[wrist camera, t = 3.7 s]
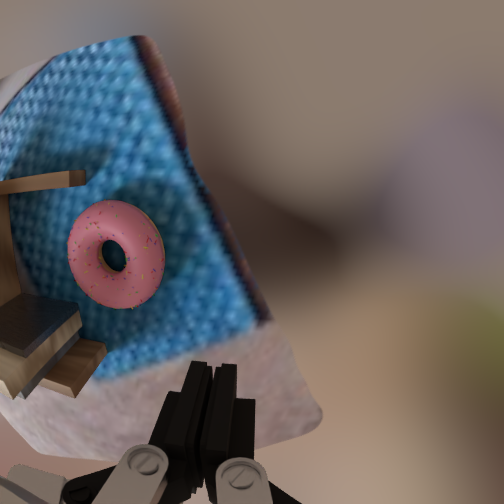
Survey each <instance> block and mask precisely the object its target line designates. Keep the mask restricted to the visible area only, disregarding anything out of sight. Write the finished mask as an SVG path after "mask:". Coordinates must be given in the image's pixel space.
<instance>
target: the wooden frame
mask: <svg viewBox="0 0 504 504" xmlns="http://www.w3.org/2000/svg"><path fill="white" fill-rule="evenodd" d="M82 185H85V170H71V171H62V172H54V173H47V174H40V175H33V176H27V177H21V178H16V179H10V180H5V181H0V306H2V305H3V304H5V303H6V302H8V301H10V300H11V299H13V298H14V297H16V296H17V295H19V294H20V293H21V288H20V284H19V279H18V274H17V269H16V263H15V257H14V251H13V244H12V236H11V226H10V215H9V198H8V194H10V193H18V192H26V191H35V190H44V189H55V188H66V187H74V186H82ZM81 327H82V322H81V317H80V313H79V310H78V311H77V312H76V313H75V314H74V315H73V316H72V317H70V318H69V319H68V320H67V321H66V322H65V323H64V324H63V325H61V326H60V327H59V328H58V329H57V330H56V331H55V332H54V333H53V334H52V335H51V336H49V337H48V338H47V339H46V340H45V341H44V342H43V343H42V344H41V345H40V346H39V347H38V348H37V349H36V350H35V351H34V352H33V353H32V354H30V355H29V356H28V357H27V358H24V357H21V356H19V355H16V354H14V353H12V352H9V351H7V350H5V349H2V348H0V393H2V394H4V395H5V396H7V397H9V398H11V399H14V398H15V397H16V396H19V397H21V398H23V399H26V398H27V397H28V395H29V394H30V393H31V392H32V391H33V389H34V388H35V387H36V386H37V385H40V386H42V387H45V388H47V389H50V390H53V391H55V392H58V393H61V394H63V395H66V396H69V397H72V398H76V396H77V395H78V394H79V392H80V391H81V389H82V388H83V386H84V385H85V384H86V382H87V381H88V379H89V378H90V377H91V375H92V374H93V372H94V371H95V370H96V368H97V367H98V366H99V364H100V363H101V362H102V360H103V359H104V357H105V356H106V355H107V350H106V346H105V343H102V342H97V341H92V340H87V339H83V338H80V337H79V333H78V330H79V329H80V328H81Z"/></svg>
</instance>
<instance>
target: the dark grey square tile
mask: <svg viewBox="0 0 504 504" xmlns="http://www.w3.org/2000/svg"><path fill="white" fill-rule="evenodd" d="M78 310H79V308H78V303H72V302H67V301H61V300H55V299H50V298H45V297H39V296H34V295H30V294H25V293H20V294H19V295H17V296H16V297H14V298H13V299H11V300H10V301H8V302H6V303H5V304H3V305H2V306H0V348H2V349H5V350H7V351H9V352H12V353H14V354H16V355H19V356H21V357H24V358H27V357H28V356H29V355H30V354H32V353H33V352H34V351H35V350H36V349H37V348H38V347H39V346H40V345H41V344H42V343H43V342H44V341H45V340H46V339H47V338H48V337H49V336H51V335H52V334H53V333H54V332H55V331H56V330H57V329H58V328H59V327H60V326H61V325H63V324H64V323H65V322H66V321H67V320H68V319H69V318H70V317H72V316H73V315H74V314H75V313H76V312H77V311H78Z"/></svg>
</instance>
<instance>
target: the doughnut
mask: <svg viewBox="0 0 504 504" xmlns="http://www.w3.org/2000/svg"><path fill="white" fill-rule="evenodd" d="M74 221H75V223H74V225H73V227H72V229H71V232H70V236H69V238H68V239H69V240H68V242H67V243H68V254H67V255H68V257H67V258H68V259H69V262H68V264H70V268H71V271H72V274H73V276H74V278H75V280H74V281H76V282H77V284H78V285H79V286H80V288H81V290H83V291H84V292H85V293H86V296H87V295H88V296H89V297H91V298H92V299H93V300H95V301H96V302H98V303H97V304H101V305H104V306H107V307H111V308H114V309H115V308H116V309H124V308H132V307H138V305H141V304H142V303H144V302H145V301H147V300H148V299H150V298H151V296H152V295H154V293H155V292H156V290H157V289H158V287H159V285H160V283H161V280H162V277H163V275H164V268H165V250H164V245H163V241H162V238H161V236H160V233H159V231H158V229H157V228H156V226H155V224H154V223H153V222H152V220H151V219H150V218H149V217H148V216H147V215H146V214H145V213H144V212H143V211H141V210H140V209H139V208H137V207H135V206H133V205H131V204H129V203H126V202H123V201H119V200H105V199H104V201H100V202H97V203H95V204H93V205H91V206H90V207H88V208H87V209H86V210H85V211H84V212H82V213H81V215H80V216H79V217H78V218H77V220H74ZM107 240H114V241H116V242H117V243H118V244H119V245H120V246H121V247H122V248H123V250H124V252H125V255H126V256H124V257H125V260H126V259H127V260H126V262H127V264H126V265H124V266H126V267H125V269H124V268H123V270H122V271H121V272H118V271H114V270H113V269H111V268H110V267H109V266H108V265H107V264H106V262H105V261H104V258H103V255H102V246H103V243H104V242H105V241H106V242H107ZM67 243H66V244H67ZM78 285H77V286H78ZM154 296H155V295H154ZM116 309H115V310H116ZM132 309H133V308H132Z"/></svg>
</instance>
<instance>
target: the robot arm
mask: <svg viewBox="0 0 504 504" xmlns="http://www.w3.org/2000/svg"><path fill="white" fill-rule="evenodd" d="M236 391H237V364H224V363H222V366H221V367H216V369H215V374H214V378H213V372H212V366H207V362H201V361H191V364H190V367H189V370H188V372H187V375H186V378H185V381H184V384H183V387H182V390H181V392H174V391H169V392H168V394H167V396H166V398H165V401H164V404H163V406H162V409H161V411H160V414H159V417H158V419H157V422H156V424H155V427H154V430H153V432H152V435H151V438H150V440H149V443H148V444H140V445H136V446H133V447H132V448H130V449H128V450H127V451H126V452H125V454H124V455H123V457H122V458H121V460H120V461H119V463H118V464H117V465H115V466H112V467H109V468H107V469H104V470H101V471H97V472H94V473H91V474H88V475H84V476H81V477H77V478H74V479H72V480H69V479H66V478H65V477H63V476H60V475H55V474H52V473H48V472H45V471H41V470H38V469H35V468H32V467H28V466H26V465H21V464H18V465H15V466H13V467H12V468H11V469H10V471H9V473H8V476H7V479H6V478H4V477H2V476H0V504H183V502H184V501H186V500H188V499H190V498H191V493H194V494H196V490H197V487H200V488H202V487H203V482H204V479H205V484H206V488H207V491H208V496H209V501H210V502H211V503H212V504H302V503H300V502H298V501H297V500H295V499H294V498H292V497H291V496H289V495H288V494H287V493H285V492H284V491H282V490H281V489H279V488H278V487H277V486H275V485H274V484H272V483H271V482H270V481H268V478H267V474H266V471H265V469H264V467H262V465H260V463H258V462H256V461H255V460H254V436H255V399H241V398H236Z"/></svg>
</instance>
